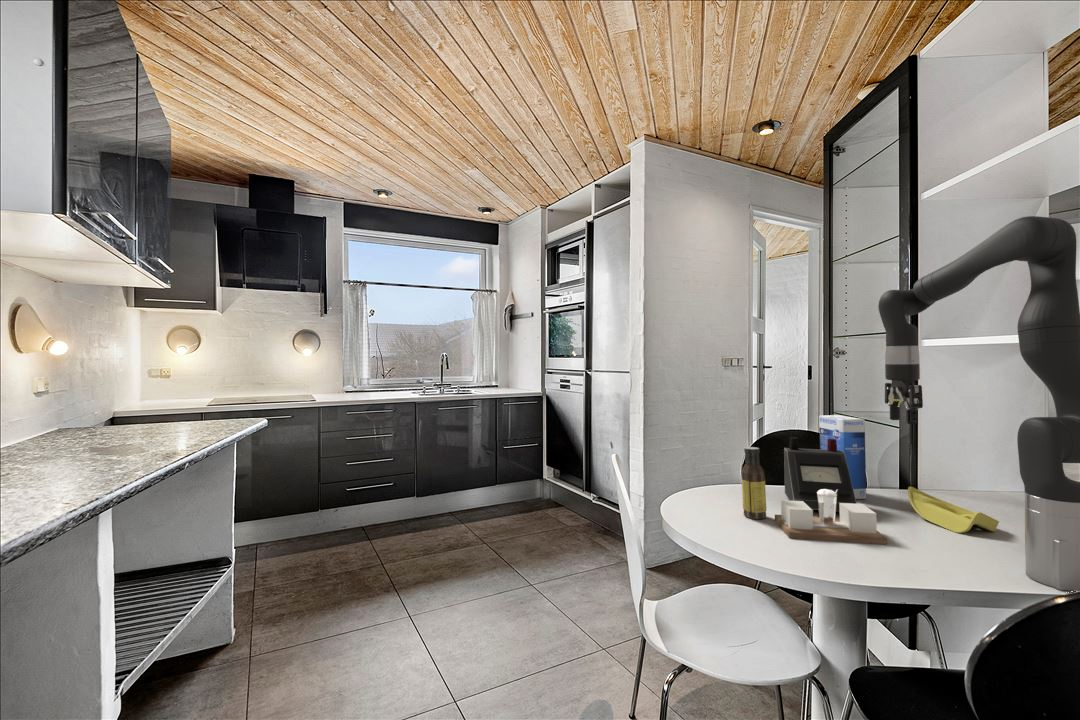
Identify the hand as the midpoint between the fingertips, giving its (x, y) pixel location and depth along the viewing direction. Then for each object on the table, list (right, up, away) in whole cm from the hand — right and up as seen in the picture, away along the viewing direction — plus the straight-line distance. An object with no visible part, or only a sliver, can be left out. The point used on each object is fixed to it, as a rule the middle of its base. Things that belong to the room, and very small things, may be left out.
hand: (902, 421), depth 130 cm
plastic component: (+14, -28, +1) cm, 31 cm away
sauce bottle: (-37, -29, +8) cm, 48 cm away
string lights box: (+2, -28, +29) cm, 40 cm away
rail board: (-24, -28, -5) cm, 37 cm away
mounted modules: (-24, -27, -5) cm, 36 cm away
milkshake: (-24, -27, -5) cm, 36 cm away
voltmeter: (-14, -28, +16) cm, 35 cm away
